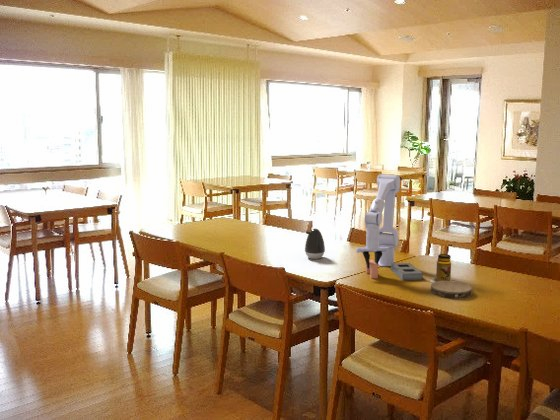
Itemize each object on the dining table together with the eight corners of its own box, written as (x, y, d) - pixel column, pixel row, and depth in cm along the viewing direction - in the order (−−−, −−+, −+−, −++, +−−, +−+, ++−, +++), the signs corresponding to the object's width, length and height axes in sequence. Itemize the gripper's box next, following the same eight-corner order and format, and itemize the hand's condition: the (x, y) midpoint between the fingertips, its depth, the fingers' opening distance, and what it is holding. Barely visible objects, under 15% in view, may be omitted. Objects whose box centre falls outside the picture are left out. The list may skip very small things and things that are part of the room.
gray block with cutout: (390, 269, 266) (390, 263, 266) (409, 268, 267) (409, 262, 267) (402, 280, 249) (402, 273, 248) (422, 279, 249) (422, 273, 249)
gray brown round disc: (425, 287, 239) (425, 281, 238) (462, 287, 240) (462, 280, 239) (438, 299, 223) (439, 292, 222) (477, 298, 224) (478, 291, 224)
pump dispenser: (300, 256, 290) (301, 227, 288) (318, 254, 295) (318, 226, 292) (310, 261, 281) (311, 231, 279) (328, 258, 286) (329, 229, 283)
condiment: (449, 284, 242) (450, 257, 240) (429, 282, 246) (430, 255, 244) (452, 280, 248) (454, 254, 246) (433, 278, 252) (434, 251, 250)
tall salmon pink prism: (365, 272, 261) (366, 259, 260) (372, 272, 261) (372, 259, 260) (371, 278, 251) (371, 265, 250) (377, 278, 252) (378, 265, 251)
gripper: (358, 240, 249) (358, 270, 251) (390, 239, 250) (389, 269, 253) (355, 237, 256) (354, 266, 258) (386, 236, 257) (385, 265, 259)
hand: (371, 267), depth 256 cm, fingers closed on tall salmon pink prism, 3 cm apart
